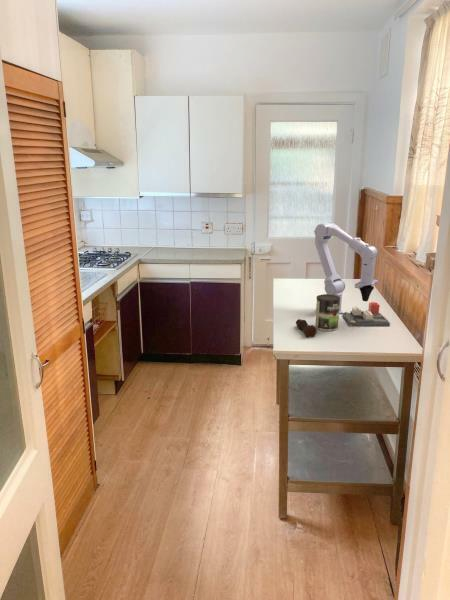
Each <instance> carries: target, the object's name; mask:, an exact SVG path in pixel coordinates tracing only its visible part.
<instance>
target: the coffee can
mask: <svg viewBox="0 0 450 600" xmlns="http://www.w3.org/2000/svg"><path fill="white" fill-rule="evenodd" d="M324 294H325V295H323V294H319V295H317V296H316V304H315V305H316V308H315V309H316V310H315V322H314V323H315V324H314V327H315V328H316V330H320V331H324V332H325V331H326V332H332V331H333V332H334V331H336V330H338V329H339V317H340V314H339V304H340V297H338V296H335V295H327V293H324Z"/></svg>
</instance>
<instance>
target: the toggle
mask: <svg viewBox="0 0 450 600" xmlns="http://www.w3.org/2000/svg"><path fill="white" fill-rule="evenodd" d="M351 311H352V314H353V315H361V311H362V310H361V308H360V307H359V306H357V305H356V306H353V307H352V308H351Z"/></svg>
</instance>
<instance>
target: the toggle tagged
mask: <svg viewBox="0 0 450 600" xmlns="http://www.w3.org/2000/svg"><path fill="white" fill-rule="evenodd" d="M363 318H364V319H365V320H372V318H373V314H372V313H371V312H370V311H368V310H366V311H365V310H363Z"/></svg>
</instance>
